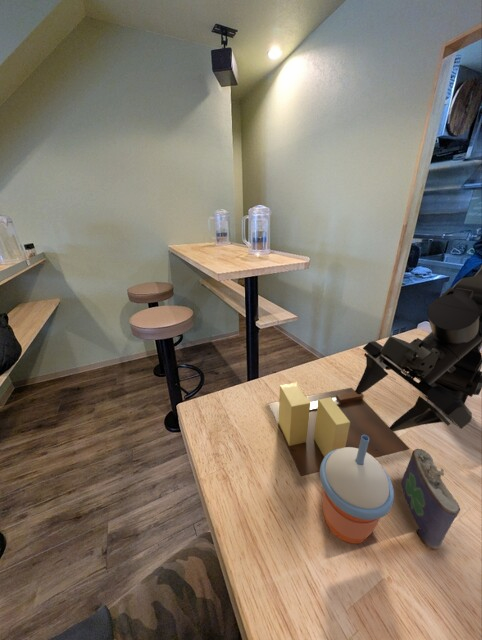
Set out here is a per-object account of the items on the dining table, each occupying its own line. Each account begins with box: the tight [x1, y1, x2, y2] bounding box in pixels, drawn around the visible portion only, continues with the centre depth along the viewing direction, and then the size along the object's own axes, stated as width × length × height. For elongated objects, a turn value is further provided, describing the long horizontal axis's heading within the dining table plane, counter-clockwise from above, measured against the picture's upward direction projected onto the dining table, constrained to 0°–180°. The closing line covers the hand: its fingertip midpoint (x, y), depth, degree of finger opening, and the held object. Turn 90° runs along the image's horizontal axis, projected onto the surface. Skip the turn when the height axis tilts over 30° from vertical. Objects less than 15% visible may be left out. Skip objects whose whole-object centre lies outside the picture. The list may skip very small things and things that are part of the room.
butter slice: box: [314, 397, 350, 457], centre depth 45 cm, size 2×6×10 cm, turn 12°
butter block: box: [278, 382, 310, 446], centre depth 49 cm, size 4×6×10 cm, turn 12°
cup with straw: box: [319, 435, 395, 544], centre depth 34 cm, size 9×9×18 cm
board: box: [268, 387, 410, 477], centre depth 53 cm, size 22×18×2 cm
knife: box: [310, 390, 365, 411], centre depth 58 cm, size 15×2×1 cm, turn 102°
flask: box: [400, 448, 461, 550], centre depth 36 cm, size 9×3×11 cm, turn 172°
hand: (372, 409), depth 46 cm, fingers open, 9 cm apart
